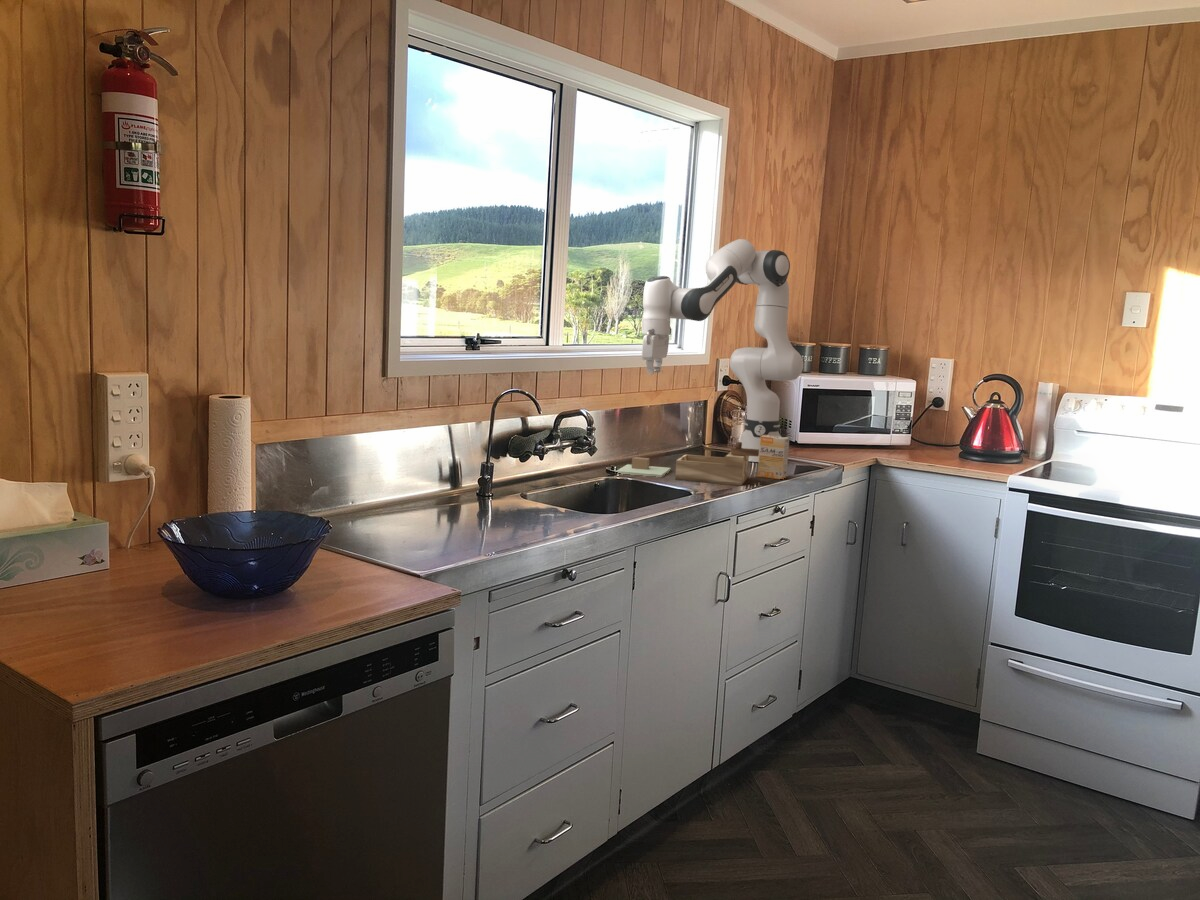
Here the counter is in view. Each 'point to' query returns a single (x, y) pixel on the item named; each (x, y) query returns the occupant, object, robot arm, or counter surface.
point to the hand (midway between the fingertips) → (653, 373)
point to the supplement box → (773, 457)
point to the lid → (643, 468)
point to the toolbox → (713, 469)
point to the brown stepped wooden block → (744, 450)
